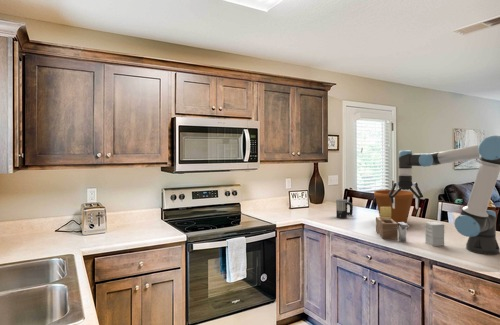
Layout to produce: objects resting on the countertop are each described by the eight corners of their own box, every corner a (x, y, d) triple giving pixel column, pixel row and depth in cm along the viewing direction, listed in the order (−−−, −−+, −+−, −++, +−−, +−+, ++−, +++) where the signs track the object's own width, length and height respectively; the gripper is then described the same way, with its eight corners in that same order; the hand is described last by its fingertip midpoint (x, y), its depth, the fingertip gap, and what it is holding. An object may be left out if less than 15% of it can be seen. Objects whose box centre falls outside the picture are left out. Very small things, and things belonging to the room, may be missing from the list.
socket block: (397, 239, 204) (397, 223, 203) (382, 238, 205) (382, 223, 205) (389, 231, 222) (389, 217, 222) (376, 231, 224) (375, 217, 223)
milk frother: (336, 218, 268) (335, 200, 267) (335, 214, 283) (335, 198, 283) (353, 218, 264) (353, 201, 264) (352, 215, 280) (352, 198, 279)
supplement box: (436, 242, 196) (436, 221, 195) (444, 245, 188) (444, 224, 188) (425, 242, 195) (425, 222, 195) (432, 246, 188) (432, 224, 187)
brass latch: (391, 219, 214) (391, 207, 213) (380, 219, 215) (380, 207, 215) (390, 219, 215) (390, 206, 214) (380, 219, 216) (379, 206, 215)
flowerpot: (421, 223, 244) (421, 192, 243) (396, 228, 231) (396, 195, 230) (390, 216, 269) (390, 189, 268) (366, 220, 256) (366, 191, 255)
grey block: (408, 242, 196) (408, 224, 195) (401, 242, 196) (401, 224, 196) (404, 239, 202) (404, 222, 202) (397, 239, 203) (397, 222, 203)
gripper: (424, 174, 202) (424, 207, 203) (383, 174, 207) (383, 206, 208) (428, 175, 195) (428, 209, 196) (385, 175, 200) (385, 209, 201)
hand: (405, 208), depth 202 cm, fingers open, 13 cm apart
